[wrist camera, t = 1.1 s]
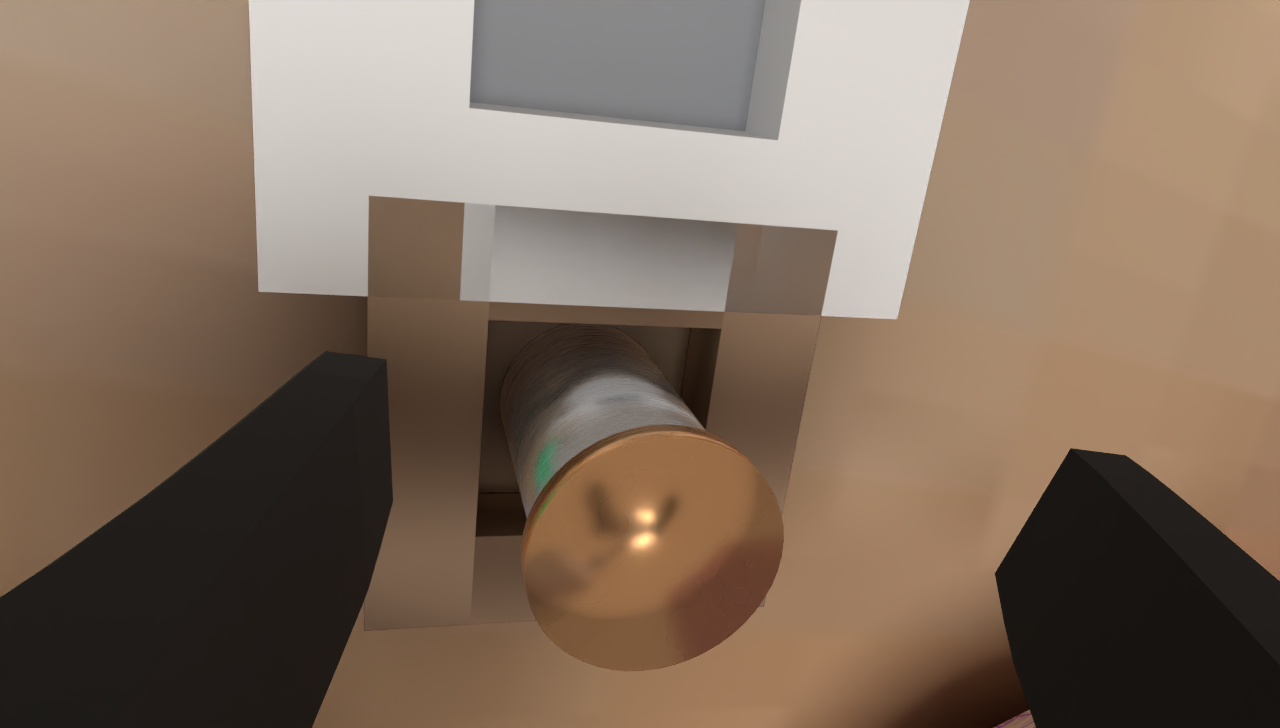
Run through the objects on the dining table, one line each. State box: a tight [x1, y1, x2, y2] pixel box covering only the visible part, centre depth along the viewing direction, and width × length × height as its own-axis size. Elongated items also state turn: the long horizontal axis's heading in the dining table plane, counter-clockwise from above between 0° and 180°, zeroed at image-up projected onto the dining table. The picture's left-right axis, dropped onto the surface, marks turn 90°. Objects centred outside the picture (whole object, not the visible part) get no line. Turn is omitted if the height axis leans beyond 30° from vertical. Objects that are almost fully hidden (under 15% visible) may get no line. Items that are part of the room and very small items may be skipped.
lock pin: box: [500, 323, 784, 671], centre depth 18 cm, size 5×5×7 cm
